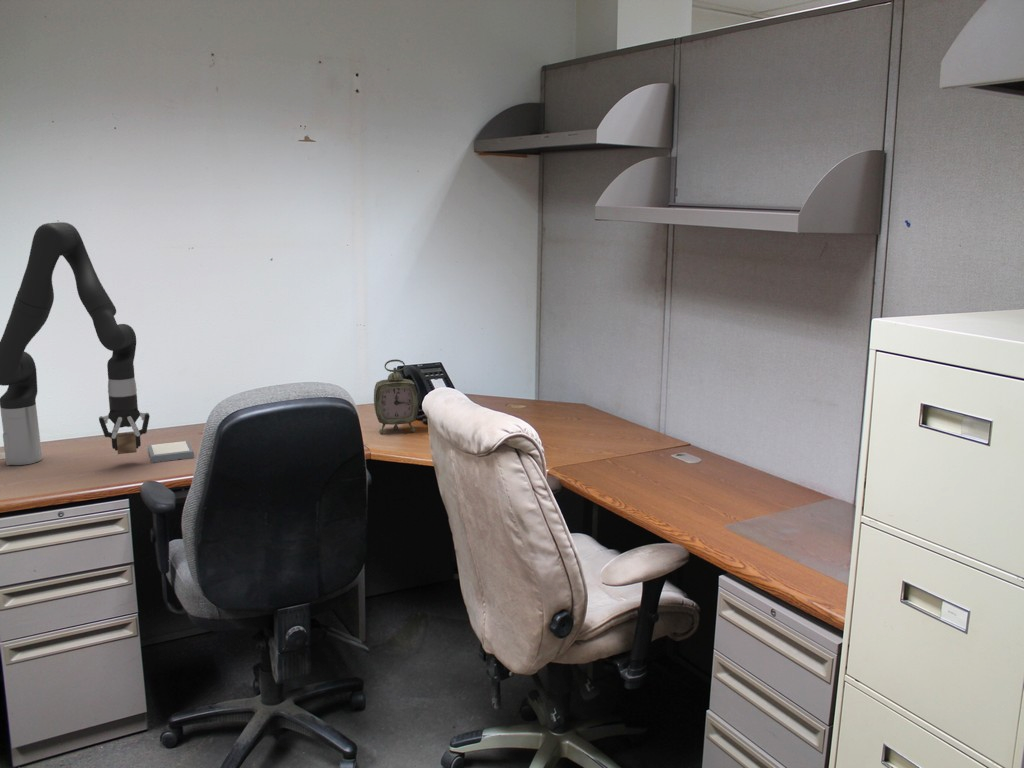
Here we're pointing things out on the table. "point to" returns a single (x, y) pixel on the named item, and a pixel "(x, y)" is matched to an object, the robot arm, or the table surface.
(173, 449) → the board
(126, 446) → the cube
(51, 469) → the table surface
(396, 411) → the tabletop clock
